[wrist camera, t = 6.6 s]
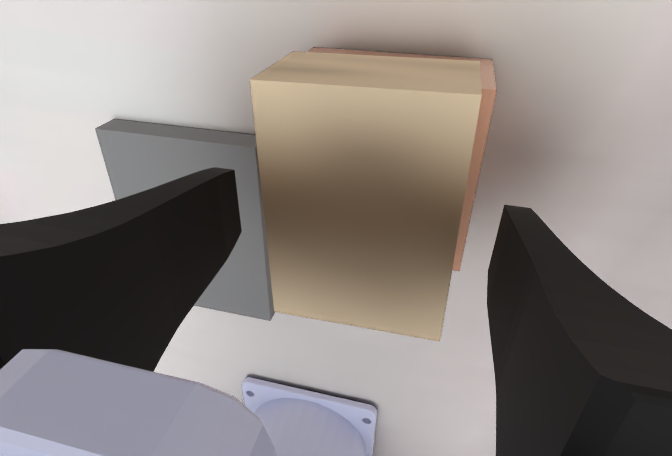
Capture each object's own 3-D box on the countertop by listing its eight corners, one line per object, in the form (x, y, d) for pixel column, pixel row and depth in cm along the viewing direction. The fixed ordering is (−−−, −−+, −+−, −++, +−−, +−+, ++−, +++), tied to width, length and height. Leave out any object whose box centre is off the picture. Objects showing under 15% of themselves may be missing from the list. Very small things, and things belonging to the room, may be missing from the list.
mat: (279, 304, 23) (270, 320, 22) (156, 280, 24) (143, 295, 24) (266, 136, 18) (255, 147, 17) (113, 118, 20) (95, 128, 19)
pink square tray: (461, 217, 18) (459, 271, 15) (315, 197, 19) (287, 243, 16) (492, 59, 15) (496, 89, 12) (313, 47, 16) (278, 71, 13)
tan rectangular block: (445, 276, 15) (439, 341, 13) (304, 255, 16) (274, 311, 14) (480, 61, 12) (481, 94, 9) (293, 51, 13) (250, 79, 10)
